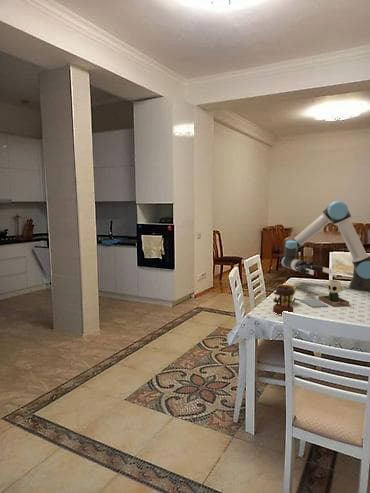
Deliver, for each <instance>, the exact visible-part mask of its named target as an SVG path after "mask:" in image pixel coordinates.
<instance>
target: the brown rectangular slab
mask: <svg viewBox="0 0 370 493" xmlns="http://www.w3.org/2000/svg"><path fill="white" fill-rule="evenodd" d="M328 296H329V294H328V295H318V296H317V297H318V301H320V302H322V303H324V304H326V305H328V306H331V307H347V306H350V301H348V300H346V299H344V298H341V297H339V302H332V301H329V300H328Z"/></svg>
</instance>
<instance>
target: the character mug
mask: <svg viewBox="0 0 370 493" xmlns="http://www.w3.org/2000/svg"><path fill="white" fill-rule="evenodd" d="M324 285H325V286H324V288H325V289H327V291H328V292H329V293H328V295H329V296H328V295H327V296H328V299H327V300H329V301H331V302H339V298H340V297H339V296H340V295H339V294H340V293H341V292H343V291H344V285H342V281H340V280H337V279H329V280H327V282H325V283H324Z"/></svg>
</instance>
